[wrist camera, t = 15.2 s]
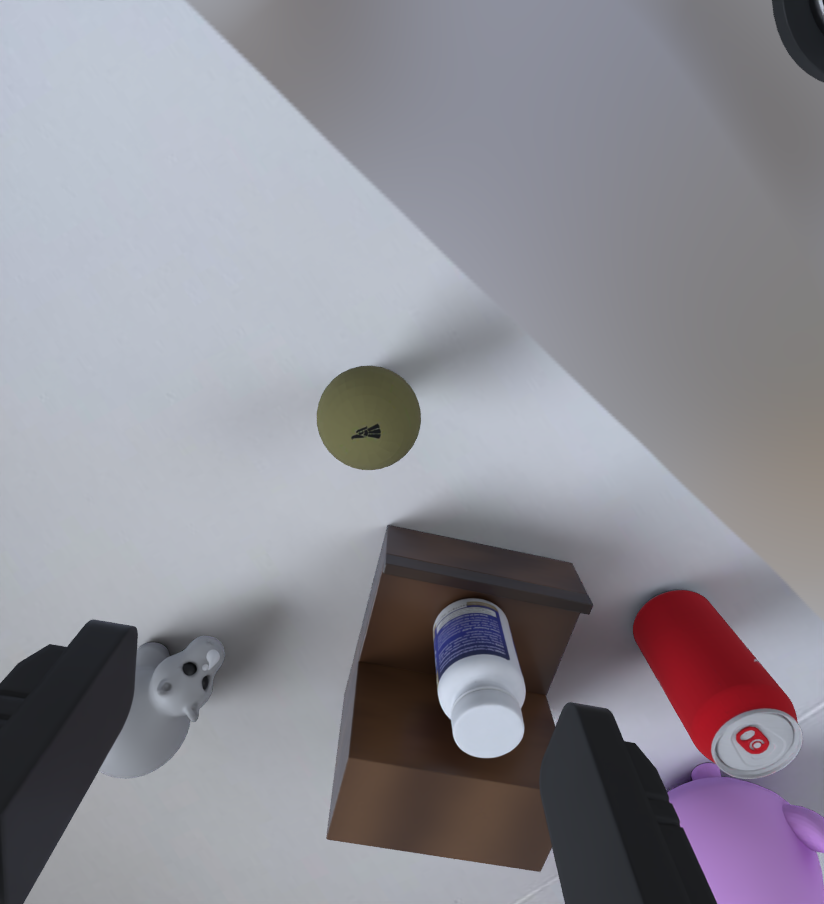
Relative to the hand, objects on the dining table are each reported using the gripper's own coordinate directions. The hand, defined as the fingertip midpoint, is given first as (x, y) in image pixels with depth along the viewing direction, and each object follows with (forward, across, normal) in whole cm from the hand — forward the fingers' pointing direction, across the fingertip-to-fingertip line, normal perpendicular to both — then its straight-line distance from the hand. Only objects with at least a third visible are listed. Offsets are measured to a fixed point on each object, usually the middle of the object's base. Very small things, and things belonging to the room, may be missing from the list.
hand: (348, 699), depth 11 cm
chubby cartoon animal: (+29, +11, +26) cm, 41 cm away
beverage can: (+29, -25, +15) cm, 41 cm away
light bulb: (+29, +1, +2) cm, 29 cm away
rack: (+29, -9, +20) cm, 36 cm away
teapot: (+29, -36, +33) cm, 57 cm away
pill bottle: (+25, -9, +16) cm, 31 cm away
